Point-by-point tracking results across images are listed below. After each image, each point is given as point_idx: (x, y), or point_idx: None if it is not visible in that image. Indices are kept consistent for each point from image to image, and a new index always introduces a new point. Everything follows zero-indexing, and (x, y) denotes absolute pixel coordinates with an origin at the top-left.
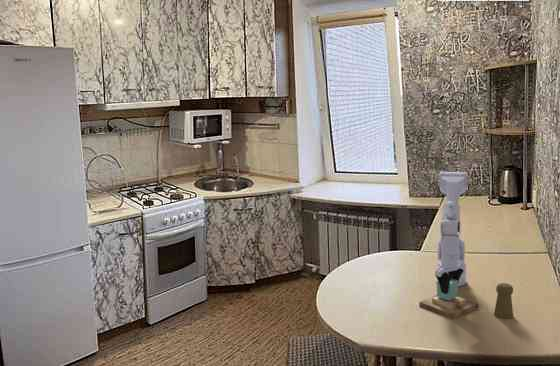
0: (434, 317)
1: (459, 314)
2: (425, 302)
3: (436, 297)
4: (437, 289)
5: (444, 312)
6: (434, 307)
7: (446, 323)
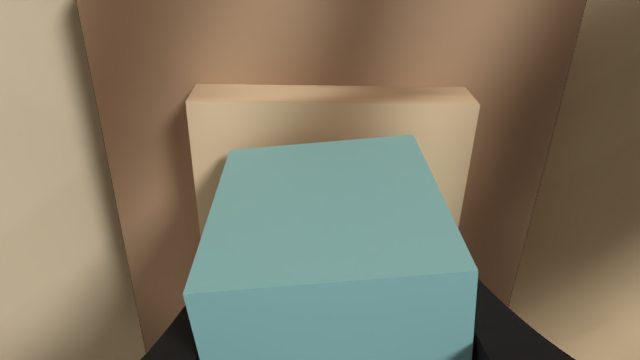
0: (44, 234)
1: None
2: (119, 43)
3: (246, 124)
4: (215, 208)
5: (136, 280)
6: (114, 187)
7: (59, 338)
